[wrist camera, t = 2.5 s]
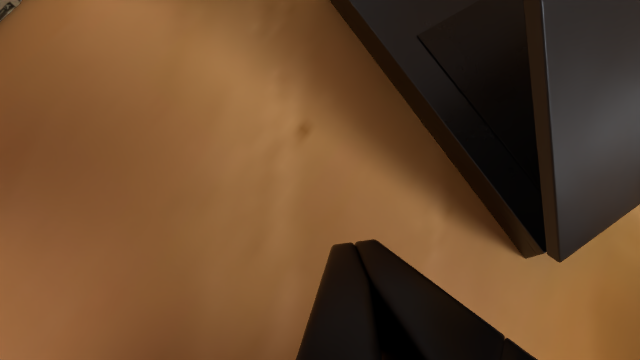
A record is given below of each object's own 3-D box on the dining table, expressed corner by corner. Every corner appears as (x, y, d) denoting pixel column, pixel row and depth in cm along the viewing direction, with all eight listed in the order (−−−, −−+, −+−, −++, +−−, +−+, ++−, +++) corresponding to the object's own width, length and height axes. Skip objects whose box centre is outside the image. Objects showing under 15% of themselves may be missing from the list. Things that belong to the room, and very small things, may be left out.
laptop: (325, -5, 26) (327, -30, 24) (604, -151, 30) (623, -182, 28) (525, 259, 22) (545, 253, 20) (813, 51, 26) (851, 31, 24)
